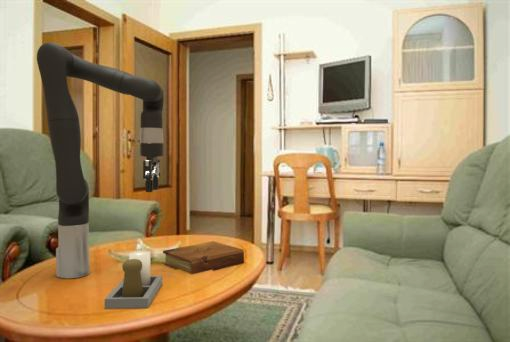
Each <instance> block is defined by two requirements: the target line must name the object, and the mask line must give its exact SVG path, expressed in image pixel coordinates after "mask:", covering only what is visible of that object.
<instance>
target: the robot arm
mask: <svg viewBox="0 0 510 342" xmlns="http://www.w3.org/2000/svg"><path fill="white" fill-rule="evenodd" d="M36 61H37V67H38V70H39V76H40V78H41V82H42V87H43V92H44V93H43V94H44V95H43V96H44V102H45V109H46V119H47V126H48V128H47V129H48V134H49V139H50V144H51V149H52V153H53V156H54V157H53V158H54V161H55V162H54V163H55V174H56V175H55V176H56V179H55V182H56V185H55V186H56V187H55V188H56V189H55V190H56V191H55V192H56V195H57V198H58V215H57V227H58V228H57V232H58V233H57V234H58V235H57V236H58V246H57V247H56V249H55V263H56V264H55V267H56V268H55V273H56V275H55V276H56V278H61V279H78V278H83V277H86V276H87V275H89V274H90V228H89V226H90V225H89V224H90V222H89V219H90V218H89V217H90V216H89V215H90V192H89V189H90V188H89V184H88V181H86V179H85V178H84V172H83V169H82V168H83V167H82V163H81V148H82V147H81V145H82V144H81V143H82V138H81V137H82V135H81V134H82V133H81V126H80V118H79V113H78V110H77V107H76V105H75V104H76V103H74V101H73V98H72V95H71V93H70V89H69V86H68V79H67V77H68V78H75V79H79V80H83V81H86V82H90V83H91V84H92V83H93V84H95V85H97V86H100V87H102V88H104V89H107V90H111V91H113V92H117V93H119V94H123V95H126V96H131V97H135V98H136V99H140V100H142V111H141V113H140V133H139V155H140V157H145V159H143V161H142V164H143V165H142V167H143V169H142V178H143V179H144V182H145V192H146V193H153V192H154V191H155V190H156V191H157V190H159V179H160V176H161V159H159V158H158V157H164V131H163V110H164V108H163V107H164V98H165V97H164V89H163V88H162V86H161V85H160V84H159V83H158V82H156V81H154V80H152V79H149V78H146V77H142V76H137V75H133V74H131V73H129V72H126V71H123V70H120V69H117V68H114V67H110V66H107V65H106V66H105V65H103V64H98V63H94V62H90V61H88V60H86V59H83V58H81V57H80V56H77V55H76V54H74V53H72V52H70V50H68V49H67V48H65V47H63V46H61V45H60V44H58V43H55V42H44V43H43V44H41V45H40V46H39V48H38V49H37V53H36Z"/></svg>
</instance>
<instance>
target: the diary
mask: <svg viewBox="0 0 510 342" xmlns="http://www.w3.org/2000/svg"><path fill="white" fill-rule="evenodd" d="M162 254H164V255H165V262H163V263H162V265H163V264H164V265H163V266H166V267H168V268H171V269H173V270H178V271H181V270H184V271H186V272H189V273H190V275H194V274H195V275H196V274H199V273H203V272H206V271H207V272H208V271H211V270H212V271H216V270H221V269H224V268H228V267H233V266H236V265H240V264H244V262H245V251H244V249H243V248H239V247H237V246H232V245H228V244H226V243H221V242H217V241H214V240H212V241H208V242H202V243H196V244H191V245H187V246H181V247H175V248H171V249H170V248H169V249H164V250H162Z"/></svg>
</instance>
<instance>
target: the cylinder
mask: <svg viewBox="0 0 510 342" xmlns="http://www.w3.org/2000/svg"><path fill="white" fill-rule="evenodd" d="M129 259H138V260H140V261H141V262H142V270H141V271H140V273H141V280H142V286H151V276H152V275H151V273H152V272H151V251H150V250H147V249H138V250H132V251H130V252H128V260H129Z"/></svg>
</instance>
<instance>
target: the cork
mask: <svg viewBox="0 0 510 342" xmlns="http://www.w3.org/2000/svg"><path fill="white" fill-rule="evenodd" d="M121 267H122V271H123V272H124V276H123V279H124V282H123V290H122V297H143V296H144V293H143V286H142V280H141V273H140V271H141V270H142V262H141V261H140V260H138V259H129V258H128V259H127V260H125V261H123V263H122V266H121Z"/></svg>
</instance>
